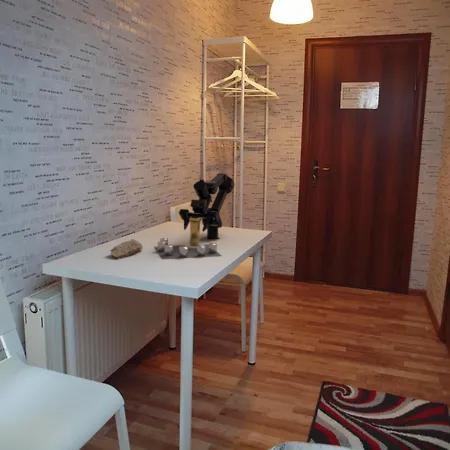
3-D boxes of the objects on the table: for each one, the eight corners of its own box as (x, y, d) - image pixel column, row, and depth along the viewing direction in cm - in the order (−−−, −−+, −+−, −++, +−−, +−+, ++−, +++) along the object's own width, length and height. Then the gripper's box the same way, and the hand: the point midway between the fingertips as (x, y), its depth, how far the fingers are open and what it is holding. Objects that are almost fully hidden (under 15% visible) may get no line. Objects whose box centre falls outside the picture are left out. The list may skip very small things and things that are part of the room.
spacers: (162, 246, 206) (162, 237, 205) (218, 252, 197) (218, 243, 196) (145, 253, 192) (145, 244, 191) (204, 260, 182) (204, 250, 182)
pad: (183, 244, 210) (183, 243, 209) (201, 244, 212) (201, 242, 212) (187, 249, 201) (187, 247, 201) (206, 248, 204) (206, 247, 204)
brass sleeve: (187, 244, 208) (188, 216, 206) (199, 243, 210) (199, 216, 207) (190, 246, 203) (190, 218, 201) (201, 246, 205) (202, 218, 202)
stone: (132, 237, 204) (148, 233, 198) (137, 251, 204) (153, 246, 199) (99, 251, 186) (114, 246, 181) (104, 266, 187) (120, 261, 181)
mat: (153, 247, 205) (153, 246, 205) (208, 245, 212) (208, 244, 212) (161, 260, 182) (161, 259, 182) (222, 257, 190) (222, 256, 190)
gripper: (180, 191, 209) (169, 218, 201) (217, 194, 203) (207, 221, 195) (187, 206, 218) (177, 232, 209) (223, 209, 211) (214, 235, 203)
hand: (193, 230), depth 204 cm, fingers open, 9 cm apart
